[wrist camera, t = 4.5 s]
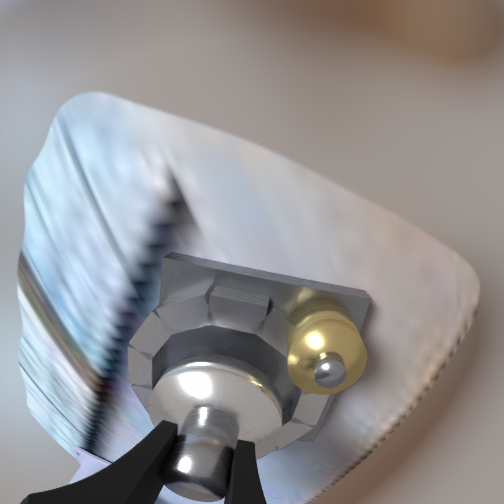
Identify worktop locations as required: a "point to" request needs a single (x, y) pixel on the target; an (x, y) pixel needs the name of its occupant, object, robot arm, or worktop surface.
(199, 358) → the silver stemmed round piece
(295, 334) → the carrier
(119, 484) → the robot arm
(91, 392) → the worktop surface
